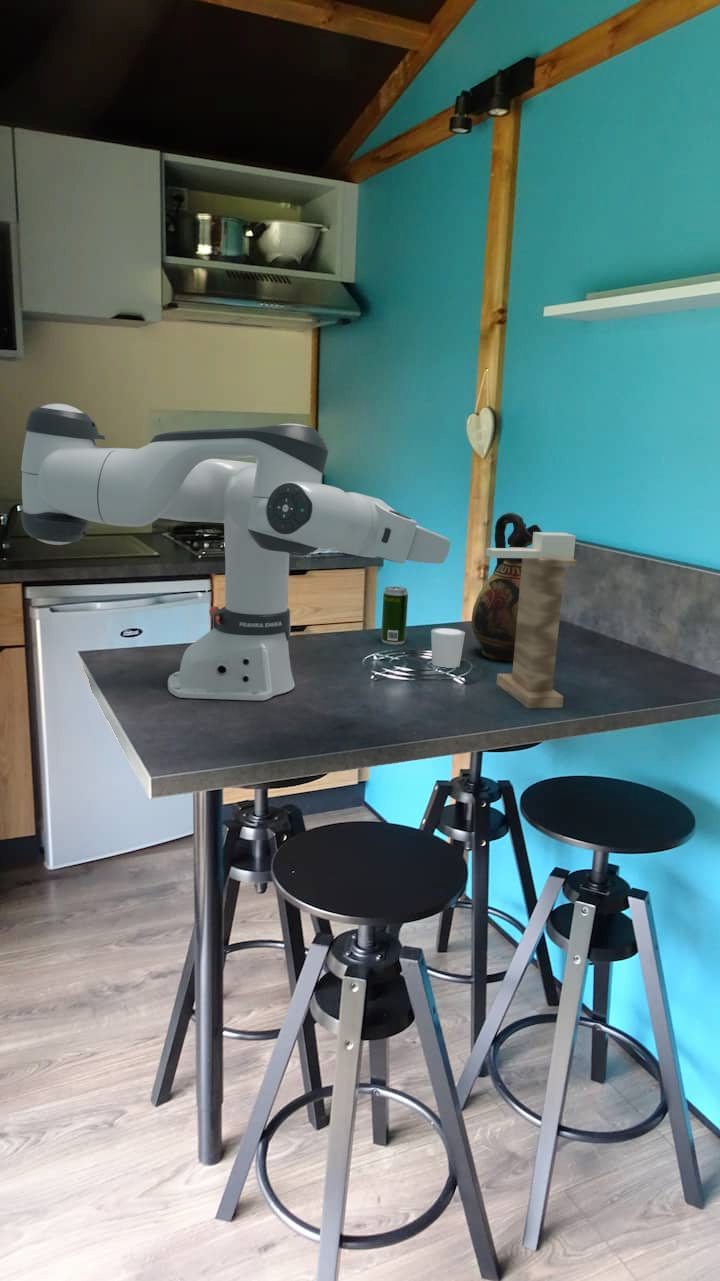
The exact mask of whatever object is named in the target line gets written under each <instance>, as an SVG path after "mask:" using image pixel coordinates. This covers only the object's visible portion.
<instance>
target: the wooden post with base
mask: <svg viewBox="0 0 720 1281" xmlns="http://www.w3.org/2000/svg"><path fill="white" fill-rule="evenodd" d="M507 548H517V549H532V547H530V546H527V547H510V546H508V547H507ZM565 567H578V560H576V559H540V558H522V569H521V581H520V592H519V603H518V615H517V626H516V638H515V649H514V660H513V662H512V671H511V673H497V675H496V685H497V686H498V687H500V688H501V689H503V690H504V691H505V692H506V693H507V694H509V695H510V696H511V697H513V699H515V700H516V701H518V702H519V703H521V704H522V705H523V706H524V707H525V708H527V709H551V708H552V709H554V708H555V709H556V708H558V709H559V708H563V705H564V695H562V694H560V693H559V692H557V691H556V690H555V689H554V688H553V687H554V679H555V669H556V658H557V651H558V650H557V649H558V648H557V647H558V637H559V629H560V628H559V627H560V618H561V610H562V609H561V608H562V599H563V598H562V597H563V587H564V577H565V569H566V568H565Z"/></svg>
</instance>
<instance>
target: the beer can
mask: <svg viewBox="0 0 720 1281" xmlns="http://www.w3.org/2000/svg"><path fill="white" fill-rule="evenodd" d="M382 597H383V598H382V613H381V615H382V616H381V634H380V636H381V637H380V639H381V642H382V643H383V644H385V645H391V646H400V645H403V644H405V642H406V638H407V637H406V636H407V621H408V620H407V619H408V600H409V592H408V588H406V587H402V586H385V587H384V591H383V596H382Z"/></svg>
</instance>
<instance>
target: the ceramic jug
mask: <svg viewBox="0 0 720 1281" xmlns="http://www.w3.org/2000/svg"><path fill="white" fill-rule="evenodd" d="M508 524H512V526H513V530H512V532H511V533H510V534H509V536H508V537H507V542H506V529H507V525H508ZM533 532H543V531H542V530H541V528H540V527H539V525H538V524H532V525H530V526H528V527H527V524H526V522H524V519H523V517H522V516H521V515H518V514H517V513H515V512H506V513H504V514H502V515H501V516H500V517H498V519H497V520H496V522H495V527H494V545H495V547H494V548H507V547H506V545H507V544H508V546H509V547H530V546H532V542H533ZM521 569H522V558H496V565H495V568H494V570H493V573H492V574H491V575H490V576H489V578H488V579H487V581H486V582H485V584H484V585H483V587H482V588H481V590H480V591H479V594H478V596H477V598H476V600H475V602H474V604H473V608H472V613H471V629H472V632H473V634H474V636H475V638H476V639H477V642H478V643H479V645H480V646H481V647H482V648H481V653H482V656H484V657H486V658H489V659H491V660H494V661H496V662H499V661H501V662H502V661H503V662H504V661H505V662H508V663H509V662H510V663H511V662H512V663H513V660H514V649H515V638H516V626H517V615H518V603H519V592H520V581H521Z"/></svg>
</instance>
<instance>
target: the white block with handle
mask: <svg viewBox="0 0 720 1281" xmlns="http://www.w3.org/2000/svg"><path fill="white" fill-rule="evenodd" d="M576 538H577V536H576V535H575V534H571V533H567V532H555V531H554V532H551V531H550V532H547V531H545V532H544V531H542V532H533V542H532V545H531V548H532V549H517V548H508V547H506V548H496V547H486V549H485V550H486V551H485V556H487V557H489V558H492V559H497V558H540V559H574V556H575V546H576ZM574 560H575V559H574Z"/></svg>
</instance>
